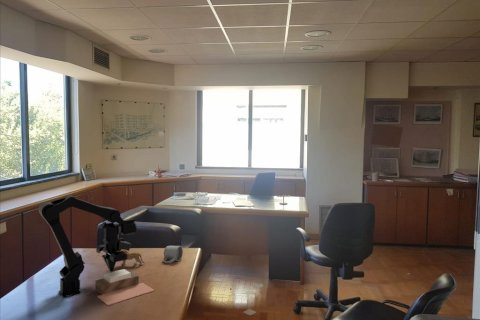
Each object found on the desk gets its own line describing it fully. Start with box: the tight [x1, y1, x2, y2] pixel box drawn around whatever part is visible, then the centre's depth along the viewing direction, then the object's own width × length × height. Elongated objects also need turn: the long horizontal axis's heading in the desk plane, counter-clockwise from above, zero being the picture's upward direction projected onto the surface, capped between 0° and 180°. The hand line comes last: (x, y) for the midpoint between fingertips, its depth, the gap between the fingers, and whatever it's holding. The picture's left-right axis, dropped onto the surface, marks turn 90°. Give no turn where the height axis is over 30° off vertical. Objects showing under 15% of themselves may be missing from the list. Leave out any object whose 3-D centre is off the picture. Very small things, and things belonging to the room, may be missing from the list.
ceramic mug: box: [163, 245, 184, 265], centre depth 182 cm, size 11×8×8 cm
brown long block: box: [94, 270, 140, 295], centre depth 147 cm, size 16×7×4 cm, turn 134°
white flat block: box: [103, 268, 131, 283], centre depth 147 cm, size 9×6×2 cm, turn 134°
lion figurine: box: [117, 249, 146, 268], centre depth 173 cm, size 15×5×9 cm, turn 109°
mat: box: [97, 282, 155, 306], centre depth 141 cm, size 20×10×1 cm, turn 134°
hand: (111, 271), depth 152 cm, fingers closed
